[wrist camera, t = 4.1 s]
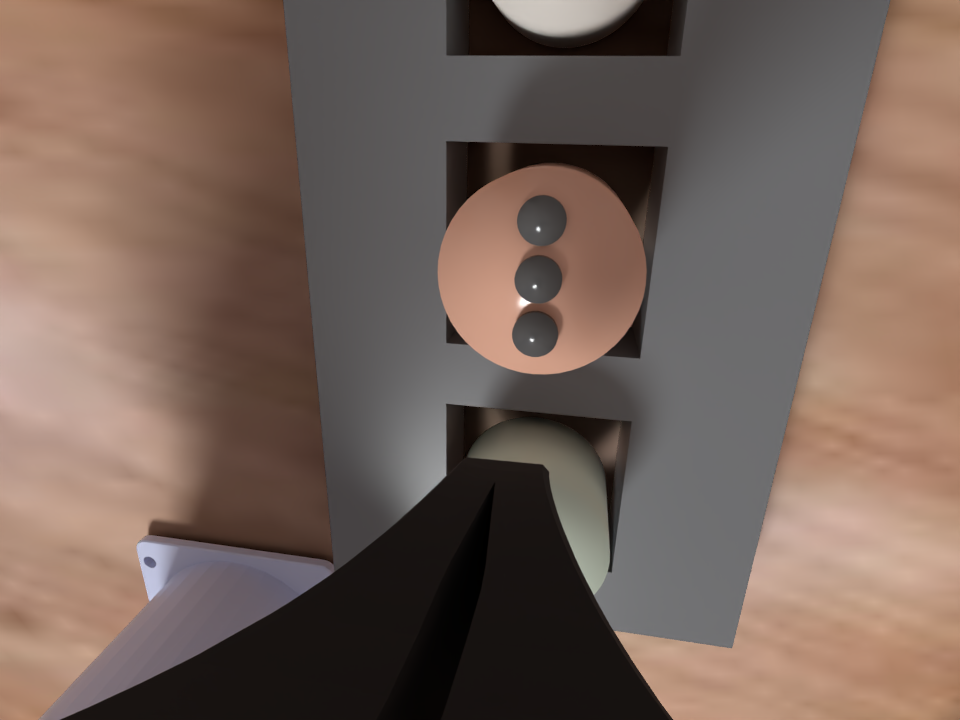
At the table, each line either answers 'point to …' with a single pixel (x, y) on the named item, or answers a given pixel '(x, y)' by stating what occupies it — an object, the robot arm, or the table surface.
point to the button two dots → (561, 482)
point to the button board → (667, 245)
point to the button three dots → (542, 269)
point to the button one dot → (566, 19)
